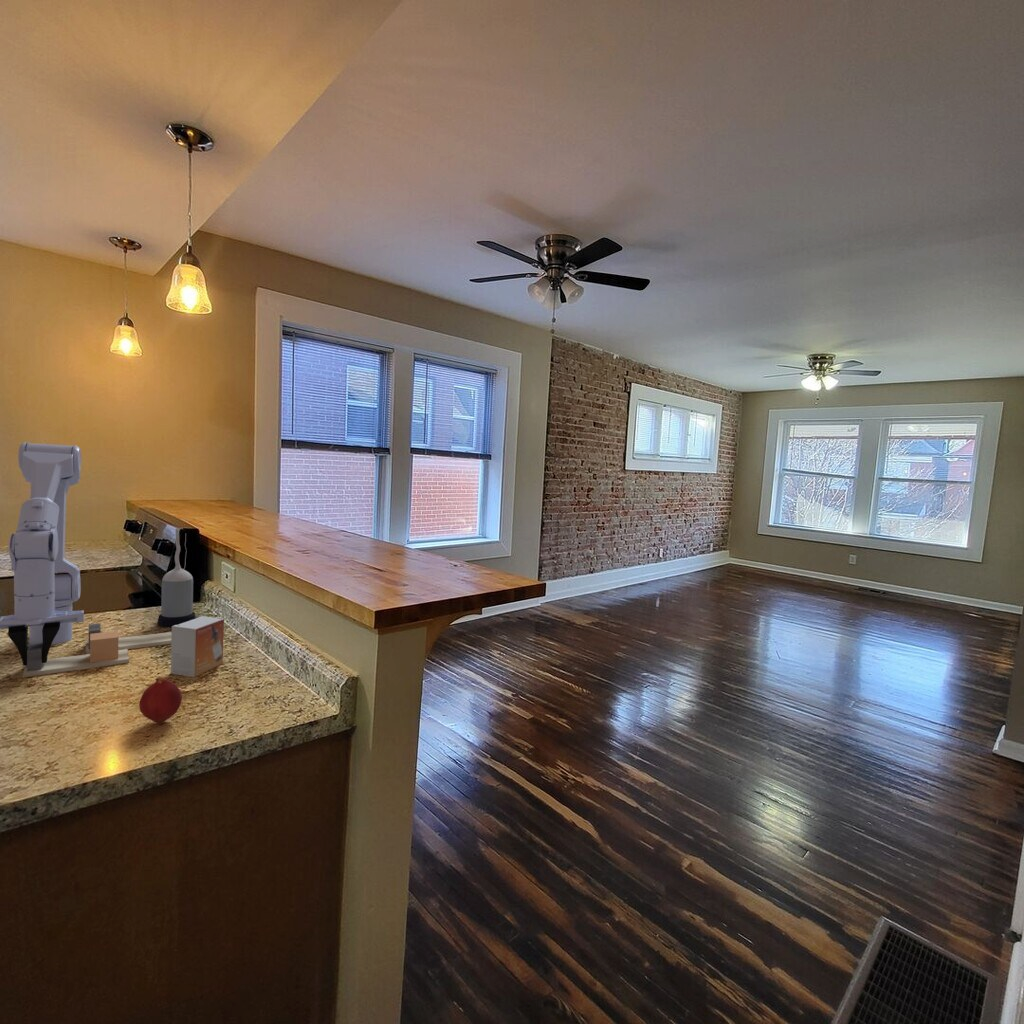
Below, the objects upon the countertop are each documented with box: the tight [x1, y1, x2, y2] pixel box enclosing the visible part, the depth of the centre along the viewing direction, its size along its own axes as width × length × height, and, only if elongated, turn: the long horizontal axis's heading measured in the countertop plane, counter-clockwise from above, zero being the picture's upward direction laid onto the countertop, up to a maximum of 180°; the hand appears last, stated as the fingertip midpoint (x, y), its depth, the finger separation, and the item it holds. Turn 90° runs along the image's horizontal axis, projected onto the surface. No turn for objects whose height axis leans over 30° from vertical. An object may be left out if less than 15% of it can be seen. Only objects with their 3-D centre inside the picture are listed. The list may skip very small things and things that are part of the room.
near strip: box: [22, 641, 130, 678], centre depth 106 cm, size 6×16×5 cm, turn 128°
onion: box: [138, 676, 183, 725], centre depth 88 cm, size 6×6×8 cm
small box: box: [170, 615, 225, 678], centre depth 108 cm, size 8×6×10 cm
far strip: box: [84, 622, 172, 655], centre depth 119 cm, size 6×16×5 cm, turn 128°
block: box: [90, 630, 119, 662], centre depth 109 cm, size 4×4×4 cm
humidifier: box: [156, 528, 197, 629], centre depth 134 cm, size 8×8×25 cm
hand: (35, 662), depth 102 cm, fingers closed on near strip, 2 cm apart
